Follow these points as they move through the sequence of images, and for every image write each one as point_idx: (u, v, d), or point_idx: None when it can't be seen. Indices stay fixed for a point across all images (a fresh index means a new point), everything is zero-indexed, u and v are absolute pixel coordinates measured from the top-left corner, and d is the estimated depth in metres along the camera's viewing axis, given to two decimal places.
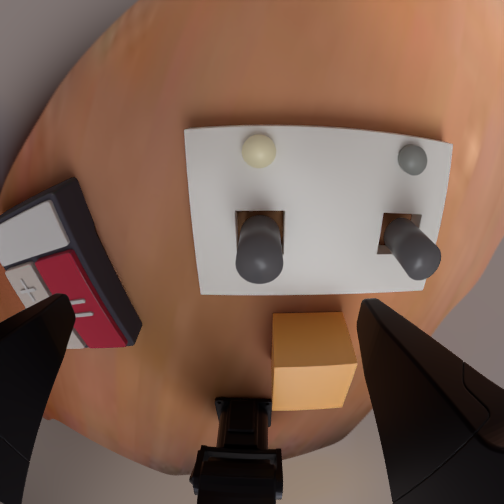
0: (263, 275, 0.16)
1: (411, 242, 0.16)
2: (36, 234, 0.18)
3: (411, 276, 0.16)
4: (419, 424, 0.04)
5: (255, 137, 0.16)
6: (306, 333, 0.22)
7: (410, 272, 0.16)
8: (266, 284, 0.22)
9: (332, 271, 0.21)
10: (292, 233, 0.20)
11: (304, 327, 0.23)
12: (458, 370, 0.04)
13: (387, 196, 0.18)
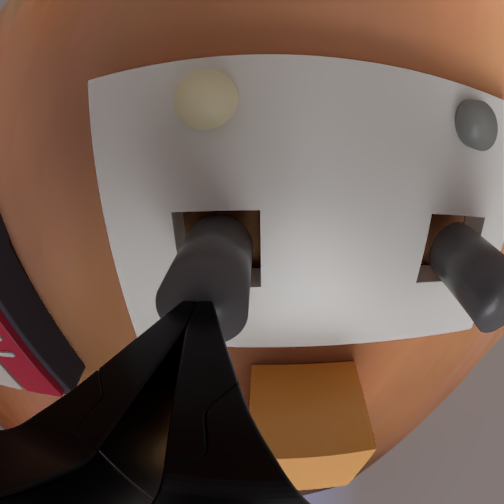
0: None
1: (487, 268, 0.07)
2: None
3: (481, 327, 0.08)
4: None
5: (197, 72, 0.08)
6: (300, 400, 0.14)
7: (481, 321, 0.08)
8: None
9: (344, 312, 0.12)
10: (275, 250, 0.11)
11: (298, 389, 0.14)
12: (217, 392, 0.04)
13: (439, 185, 0.10)
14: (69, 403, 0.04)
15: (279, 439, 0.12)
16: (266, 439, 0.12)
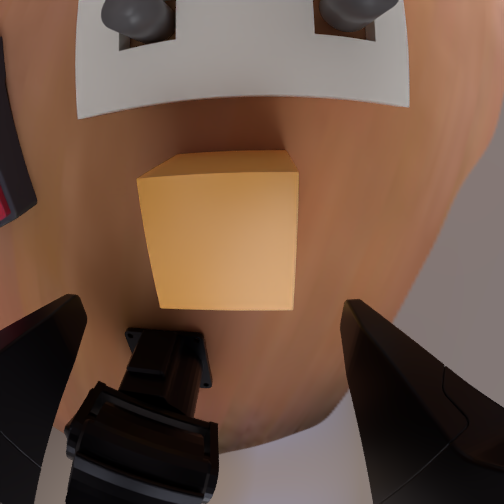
0: (130, 17, 0.09)
1: None
2: None
3: (355, 0, 0.07)
4: (397, 429, 0.04)
5: None
6: (216, 158, 0.13)
7: None
8: (154, 85, 0.13)
9: (249, 57, 0.12)
10: (186, 10, 0.11)
11: (217, 156, 0.14)
12: (438, 375, 0.04)
13: None
14: None
15: (179, 169, 0.11)
16: (165, 170, 0.11)
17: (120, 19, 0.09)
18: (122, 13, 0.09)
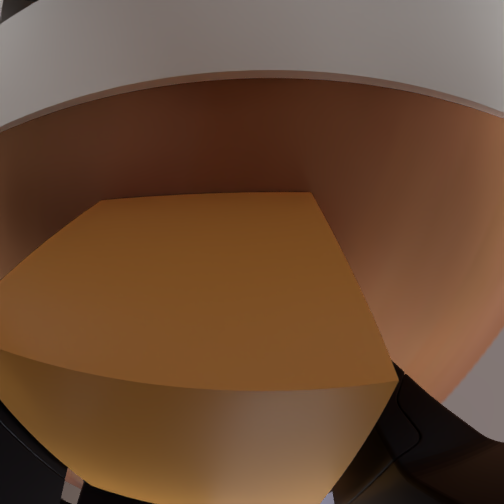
0: None
1: None
2: None
3: None
4: None
5: None
6: (150, 232, 0.05)
7: None
8: (40, 74, 0.05)
9: None
10: None
11: (158, 219, 0.06)
12: None
13: None
14: None
15: (36, 300, 0.03)
16: (13, 296, 0.03)
17: None
18: None
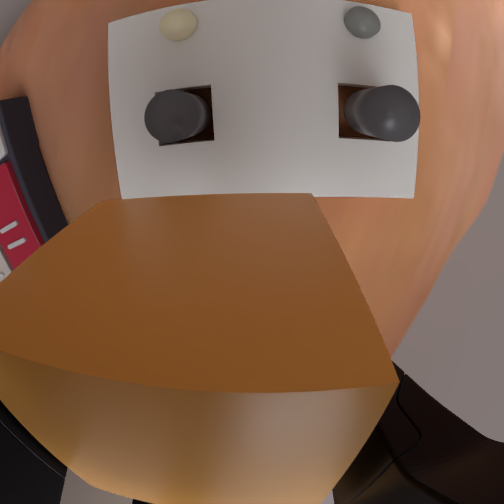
0: (175, 129, 0.13)
1: (372, 90, 0.11)
2: None
3: (382, 133, 0.11)
4: None
5: (173, 10, 0.11)
6: (150, 233, 0.05)
7: (378, 126, 0.11)
8: (197, 184, 0.16)
9: (281, 162, 0.16)
10: (222, 110, 0.15)
11: (158, 220, 0.06)
12: None
13: (339, 63, 0.13)
14: None
15: (37, 301, 0.03)
16: (14, 298, 0.03)
17: (166, 130, 0.13)
18: (167, 124, 0.12)
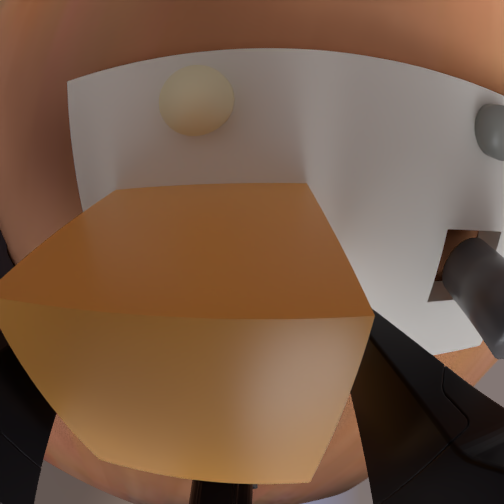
0: None
1: None
2: None
3: (497, 355, 0.07)
4: (397, 429, 0.04)
5: (186, 70, 0.07)
6: (165, 214, 0.06)
7: (498, 349, 0.06)
8: None
9: None
10: None
11: (171, 204, 0.07)
12: (438, 375, 0.04)
13: (456, 198, 0.08)
14: None
15: (68, 266, 0.04)
16: (44, 265, 0.04)
17: None
18: None
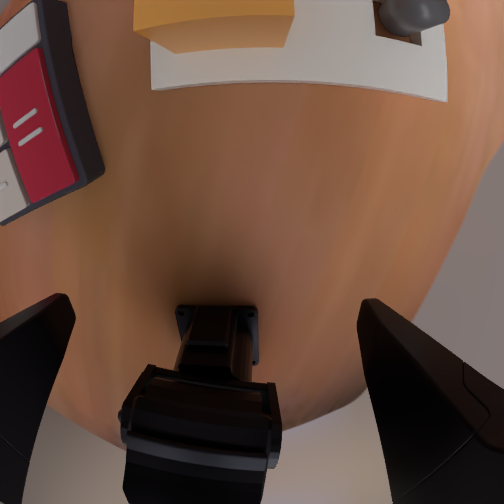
0: None
1: None
2: (8, 44, 0.10)
3: (420, 14, 0.08)
4: (419, 424, 0.04)
5: None
6: None
7: (416, 8, 0.08)
8: (236, 64, 0.14)
9: (322, 49, 0.13)
10: None
11: None
12: (458, 370, 0.04)
13: None
14: None
15: None
16: None
17: None
18: None
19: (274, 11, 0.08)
